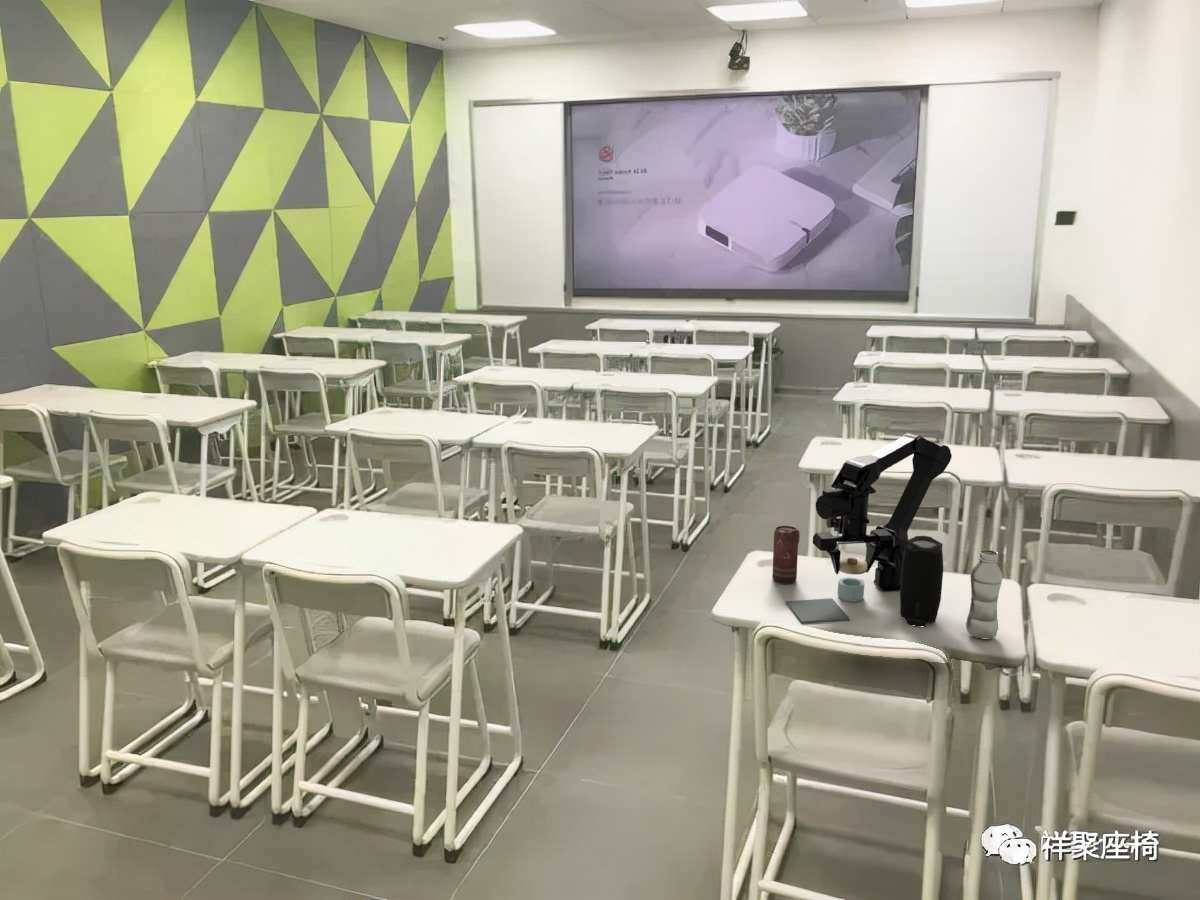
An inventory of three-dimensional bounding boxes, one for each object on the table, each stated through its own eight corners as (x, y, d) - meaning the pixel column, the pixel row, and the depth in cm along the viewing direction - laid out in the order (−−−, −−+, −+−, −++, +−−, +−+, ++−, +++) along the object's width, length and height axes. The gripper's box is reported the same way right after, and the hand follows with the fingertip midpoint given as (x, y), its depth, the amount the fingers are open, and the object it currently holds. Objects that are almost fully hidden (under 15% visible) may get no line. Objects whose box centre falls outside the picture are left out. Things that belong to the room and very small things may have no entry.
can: (799, 584, 241) (801, 532, 237) (774, 584, 241) (776, 532, 237) (795, 575, 247) (797, 524, 243) (770, 575, 247) (772, 524, 243)
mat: (831, 600, 231) (832, 598, 231) (849, 620, 220) (850, 618, 220) (785, 603, 230) (786, 601, 229) (801, 623, 218) (801, 621, 218)
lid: (860, 562, 235) (860, 553, 234) (871, 573, 228) (872, 564, 227) (832, 564, 234) (832, 555, 233) (843, 575, 227) (843, 565, 226)
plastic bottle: (994, 645, 207) (1003, 560, 202) (961, 638, 210) (969, 554, 205) (999, 634, 212) (1008, 550, 207) (967, 627, 215) (975, 545, 210)
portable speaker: (909, 609, 226) (915, 531, 221) (946, 621, 219) (953, 541, 214) (890, 619, 220) (896, 540, 215) (927, 632, 213) (934, 551, 208)
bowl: (857, 591, 236) (858, 576, 235) (867, 601, 230) (868, 586, 229) (834, 593, 235) (834, 578, 234) (843, 603, 229) (844, 587, 228)
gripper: (878, 500, 236) (874, 558, 240) (806, 503, 234) (803, 562, 238) (897, 514, 225) (893, 575, 229) (822, 518, 223) (819, 579, 227)
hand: (851, 572), depth 231 cm, fingers closed on lid, 7 cm apart
